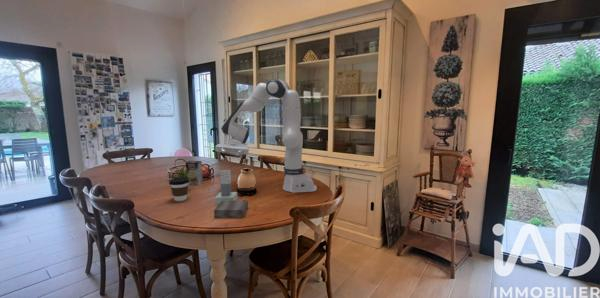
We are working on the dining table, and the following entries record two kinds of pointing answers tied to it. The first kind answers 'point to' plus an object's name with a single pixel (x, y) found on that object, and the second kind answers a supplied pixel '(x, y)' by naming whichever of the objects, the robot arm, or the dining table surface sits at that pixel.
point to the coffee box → (194, 172)
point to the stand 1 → (225, 197)
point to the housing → (225, 182)
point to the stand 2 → (231, 209)
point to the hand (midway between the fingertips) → (231, 152)
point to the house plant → (183, 174)
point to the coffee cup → (179, 188)
